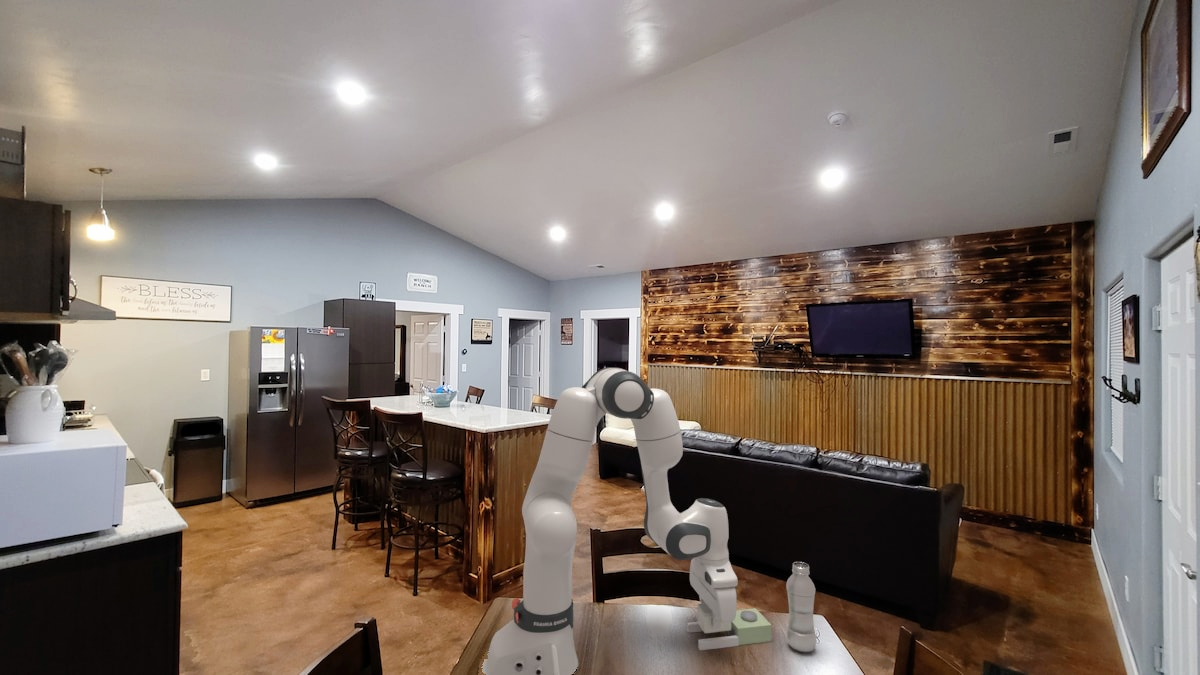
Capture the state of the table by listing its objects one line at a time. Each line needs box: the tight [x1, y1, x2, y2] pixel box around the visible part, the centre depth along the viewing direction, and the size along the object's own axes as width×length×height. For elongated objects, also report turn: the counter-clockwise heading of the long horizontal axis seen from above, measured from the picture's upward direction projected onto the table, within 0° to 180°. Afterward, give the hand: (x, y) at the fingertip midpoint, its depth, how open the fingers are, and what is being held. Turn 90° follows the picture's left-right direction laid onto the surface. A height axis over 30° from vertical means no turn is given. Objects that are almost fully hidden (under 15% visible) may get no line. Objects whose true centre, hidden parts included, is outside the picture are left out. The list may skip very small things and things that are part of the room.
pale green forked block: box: [686, 607, 773, 651], centre depth 125 cm, size 19×8×5 cm, turn 101°
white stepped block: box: [697, 603, 731, 634], centre depth 124 cm, size 7×4×5 cm, turn 101°
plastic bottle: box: [785, 561, 817, 653], centre depth 120 cm, size 6×7×20 cm
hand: (710, 620), depth 124 cm, fingers closed on white stepped block, 4 cm apart
